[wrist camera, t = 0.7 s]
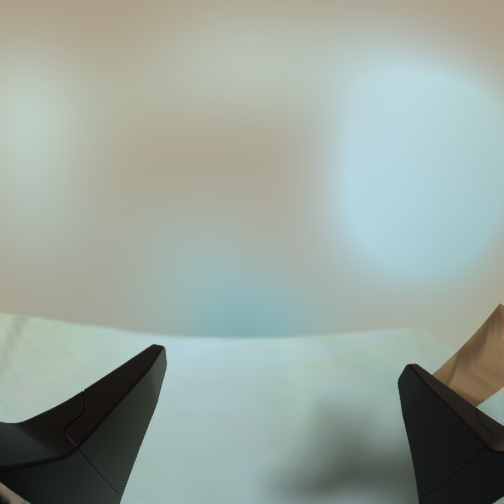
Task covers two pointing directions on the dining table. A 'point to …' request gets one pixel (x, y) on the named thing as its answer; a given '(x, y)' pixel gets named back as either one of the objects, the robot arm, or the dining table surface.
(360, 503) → the dining table surface
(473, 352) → the walnut block
